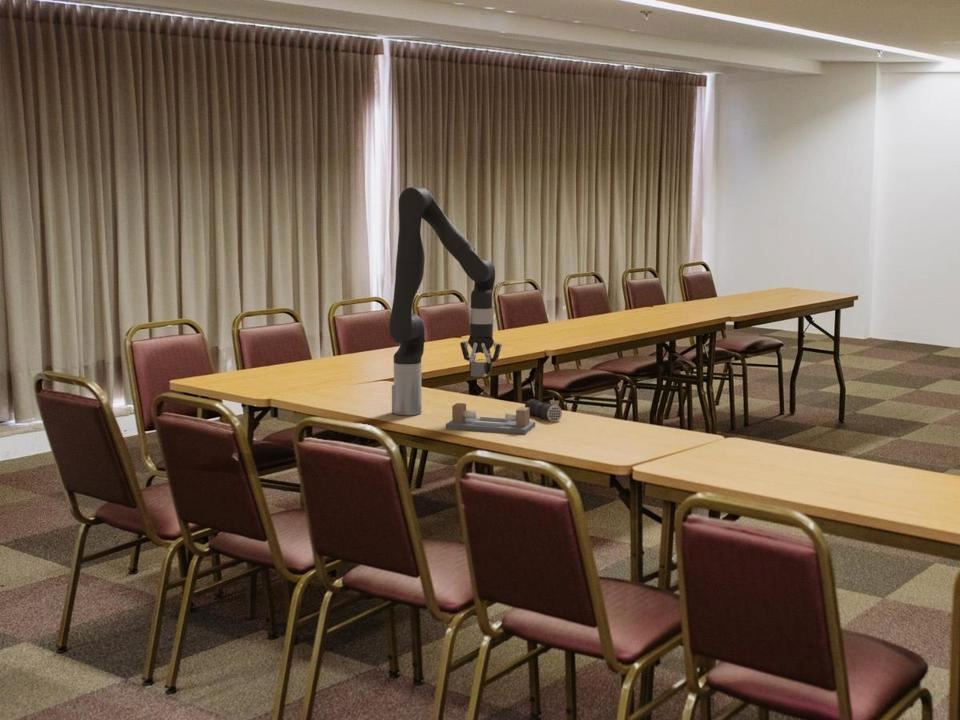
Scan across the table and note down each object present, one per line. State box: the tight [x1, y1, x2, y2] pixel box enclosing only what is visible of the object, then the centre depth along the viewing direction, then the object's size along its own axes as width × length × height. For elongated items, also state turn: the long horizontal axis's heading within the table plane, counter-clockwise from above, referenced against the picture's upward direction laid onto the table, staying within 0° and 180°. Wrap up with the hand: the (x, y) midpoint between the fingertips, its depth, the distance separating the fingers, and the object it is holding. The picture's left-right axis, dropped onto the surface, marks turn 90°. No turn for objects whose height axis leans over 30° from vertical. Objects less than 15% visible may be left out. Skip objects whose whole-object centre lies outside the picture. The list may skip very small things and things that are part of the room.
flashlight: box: [524, 398, 563, 422], centre depth 382 cm, size 15×5×5 cm, turn 29°
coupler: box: [470, 358, 488, 378], centre depth 377 cm, size 8×4×4 cm, turn 164°
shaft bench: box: [445, 402, 536, 435], centre depth 365 cm, size 26×12×7 cm, turn 73°
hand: (480, 373), depth 377 cm, fingers closed on coupler, 4 cm apart
